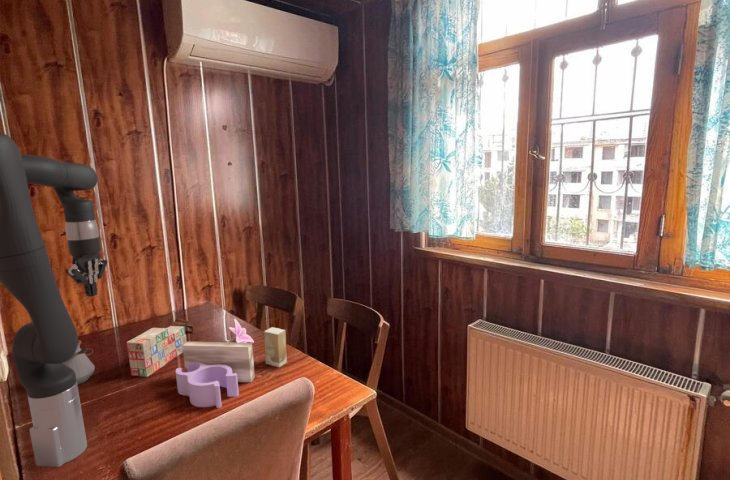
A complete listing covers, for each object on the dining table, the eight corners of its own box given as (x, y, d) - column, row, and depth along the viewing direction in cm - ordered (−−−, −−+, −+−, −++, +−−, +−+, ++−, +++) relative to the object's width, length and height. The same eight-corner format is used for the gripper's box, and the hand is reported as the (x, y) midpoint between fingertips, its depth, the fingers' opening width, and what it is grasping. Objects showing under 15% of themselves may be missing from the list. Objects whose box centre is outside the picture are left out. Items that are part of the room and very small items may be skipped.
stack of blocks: (173, 348, 154) (169, 317, 152) (187, 349, 153) (184, 318, 151) (130, 376, 134) (126, 341, 132) (147, 377, 133) (142, 342, 130)
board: (251, 382, 127) (248, 347, 125) (186, 380, 130) (182, 345, 128) (254, 377, 130) (252, 342, 128) (191, 375, 133) (187, 341, 131)
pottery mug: (164, 336, 167) (171, 317, 169) (187, 341, 171) (193, 322, 174) (168, 338, 157) (176, 318, 159) (193, 343, 162) (200, 323, 164)
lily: (233, 359, 146) (245, 336, 146) (212, 341, 151) (223, 319, 150) (253, 355, 157) (264, 333, 157) (233, 338, 162) (244, 318, 161)
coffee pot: (47, 383, 130) (40, 340, 128) (87, 368, 140) (81, 328, 137) (74, 403, 118) (66, 356, 116) (116, 386, 128) (109, 341, 125)
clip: (167, 395, 122) (164, 374, 120) (201, 376, 132) (199, 357, 131) (212, 413, 112) (210, 390, 111) (245, 391, 123) (243, 370, 121)
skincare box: (265, 364, 139) (262, 331, 137) (273, 358, 143) (271, 326, 141) (279, 367, 136) (277, 334, 134) (288, 362, 140) (285, 329, 138)
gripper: (76, 240, 106) (85, 303, 109) (112, 232, 119) (120, 289, 122) (50, 241, 107) (60, 303, 110) (89, 233, 120) (97, 288, 123)
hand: (92, 295), depth 116 cm, fingers closed
